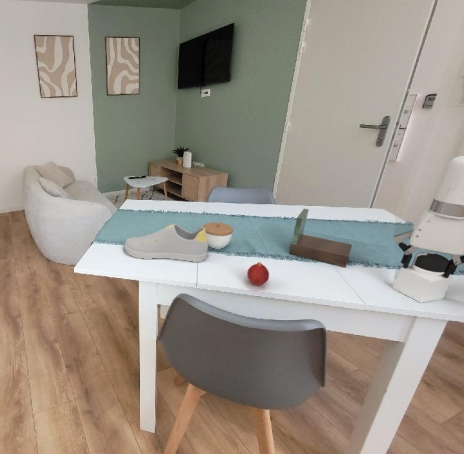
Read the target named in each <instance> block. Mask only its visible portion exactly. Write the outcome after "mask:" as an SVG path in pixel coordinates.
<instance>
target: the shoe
mask: <svg viewBox="0 0 464 454" xmlns="http://www.w3.org/2000/svg"><path fill="white" fill-rule="evenodd" d="M208 249H209V247H208V241H207V237H206V232H205V228H203V226H200V227H198V228H197V229H196V230H194V231H188V230H186V229H184V228H182V227H181V226H179V225H178V224H176V223H171V224H169V225H167V226H165V227H163V228H161V229H160V230H157V231H155V232H152V233H149V234H148V233H147V234H146V235H143V236H131V237H128V238H126V240H125V242H124V250H125V252H126V253H127V254H128V255H130V256H132V257H134V258H137V259H141V258H144V259H143V260H153V259H152V258H170V259H169V260H174V259H178V260H177V261H181V260H186V261H185V262H189V261H193V262H192V263H201V262H203V261H205V260H206V259H207V256H208V255H207V254H208Z"/></svg>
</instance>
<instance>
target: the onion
mask: <svg viewBox="0 0 464 454" xmlns="http://www.w3.org/2000/svg"><path fill="white" fill-rule="evenodd" d="M246 277H247V279H248V281H250V283H251V284H252V285H254V286H257V287H258V286H261V285H265V284H266V283H267V282H268V281H269V279H270V272H269V269H268V268H267V266H265V265H264V264H263V263H262V262H261V261H260V262H257V263H254V264H252V265H251V266H250V267H249V268H248V270H247V272H246Z"/></svg>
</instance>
